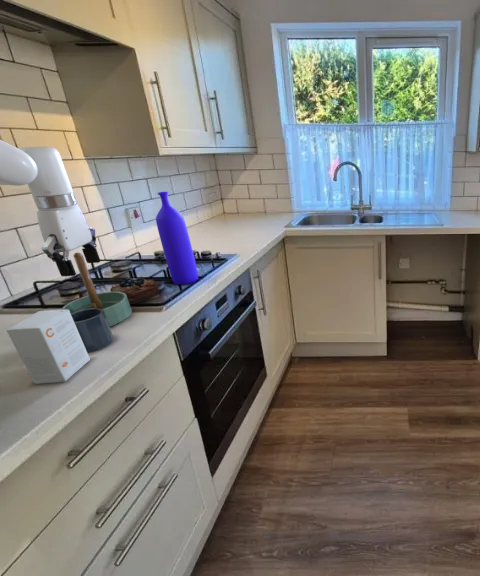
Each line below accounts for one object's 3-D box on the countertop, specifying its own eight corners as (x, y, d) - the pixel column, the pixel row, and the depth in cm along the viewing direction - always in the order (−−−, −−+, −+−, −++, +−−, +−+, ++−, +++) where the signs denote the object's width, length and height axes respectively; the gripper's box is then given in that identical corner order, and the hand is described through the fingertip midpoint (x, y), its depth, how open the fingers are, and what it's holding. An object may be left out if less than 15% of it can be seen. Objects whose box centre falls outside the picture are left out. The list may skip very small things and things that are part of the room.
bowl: (55, 335, 92) (47, 316, 90) (91, 310, 105) (84, 293, 103) (114, 331, 94) (107, 312, 91) (142, 307, 106) (136, 290, 104)
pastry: (129, 306, 107) (123, 288, 105) (106, 299, 112) (100, 281, 110) (164, 292, 116) (159, 275, 114) (142, 286, 121) (137, 270, 119)
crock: (68, 353, 84) (55, 323, 81) (89, 337, 91) (77, 309, 88) (102, 351, 85) (90, 321, 82) (120, 335, 92) (109, 307, 89)
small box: (62, 361, 82) (38, 310, 76) (91, 359, 82) (69, 308, 77) (32, 384, 74) (4, 329, 69) (65, 382, 74) (39, 327, 69)
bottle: (174, 287, 120) (148, 195, 108) (171, 279, 126) (146, 192, 114) (201, 281, 124) (179, 192, 112) (196, 274, 130) (175, 189, 118)
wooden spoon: (95, 321, 98) (68, 254, 90) (101, 315, 101) (77, 251, 93) (102, 320, 98) (76, 254, 90) (108, 315, 101) (84, 250, 93)
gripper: (65, 196, 94) (88, 258, 101) (9, 209, 78) (40, 282, 85) (95, 195, 95) (116, 257, 101) (46, 208, 79) (74, 280, 86)
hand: (82, 268), depth 93 cm, fingers open, 9 cm apart
